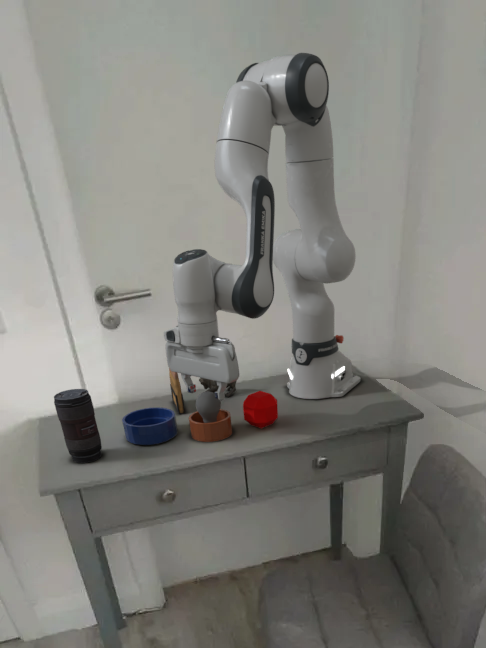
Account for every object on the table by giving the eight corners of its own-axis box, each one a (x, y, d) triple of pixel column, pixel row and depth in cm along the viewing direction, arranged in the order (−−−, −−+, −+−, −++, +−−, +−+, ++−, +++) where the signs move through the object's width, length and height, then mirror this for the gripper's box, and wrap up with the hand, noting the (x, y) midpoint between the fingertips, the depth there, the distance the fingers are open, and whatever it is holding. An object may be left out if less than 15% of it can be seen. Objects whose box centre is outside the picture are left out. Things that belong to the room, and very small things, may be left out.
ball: (262, 416, 158) (260, 386, 153) (284, 423, 153) (282, 393, 148) (239, 425, 153) (236, 395, 149) (261, 433, 148) (258, 402, 144)
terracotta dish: (211, 423, 156) (208, 405, 153) (240, 430, 150) (239, 413, 148) (182, 436, 150) (180, 418, 147) (212, 445, 144) (210, 426, 142)
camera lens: (105, 448, 147) (90, 386, 138) (103, 462, 140) (88, 397, 131) (71, 452, 146) (54, 389, 137) (68, 466, 140) (50, 401, 131)
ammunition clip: (185, 413, 163) (178, 367, 155) (178, 414, 162) (171, 368, 155) (179, 400, 171) (172, 356, 164) (172, 401, 171) (165, 357, 163)
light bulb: (196, 430, 151) (190, 390, 145) (219, 426, 153) (214, 386, 147) (203, 439, 147) (198, 398, 141) (227, 434, 149) (222, 393, 143)
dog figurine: (234, 388, 177) (232, 362, 172) (242, 394, 172) (239, 367, 168) (195, 396, 173) (192, 369, 169) (202, 402, 169) (199, 375, 164)
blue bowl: (153, 423, 158) (150, 404, 155) (188, 432, 152) (185, 413, 149) (115, 439, 151) (111, 420, 148) (150, 450, 144) (146, 430, 141)
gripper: (243, 336, 132) (247, 399, 141) (178, 326, 143) (185, 385, 151) (223, 342, 129) (229, 407, 137) (158, 331, 139) (167, 392, 148)
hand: (205, 395), depth 144 cm, fingers open, 8 cm apart
